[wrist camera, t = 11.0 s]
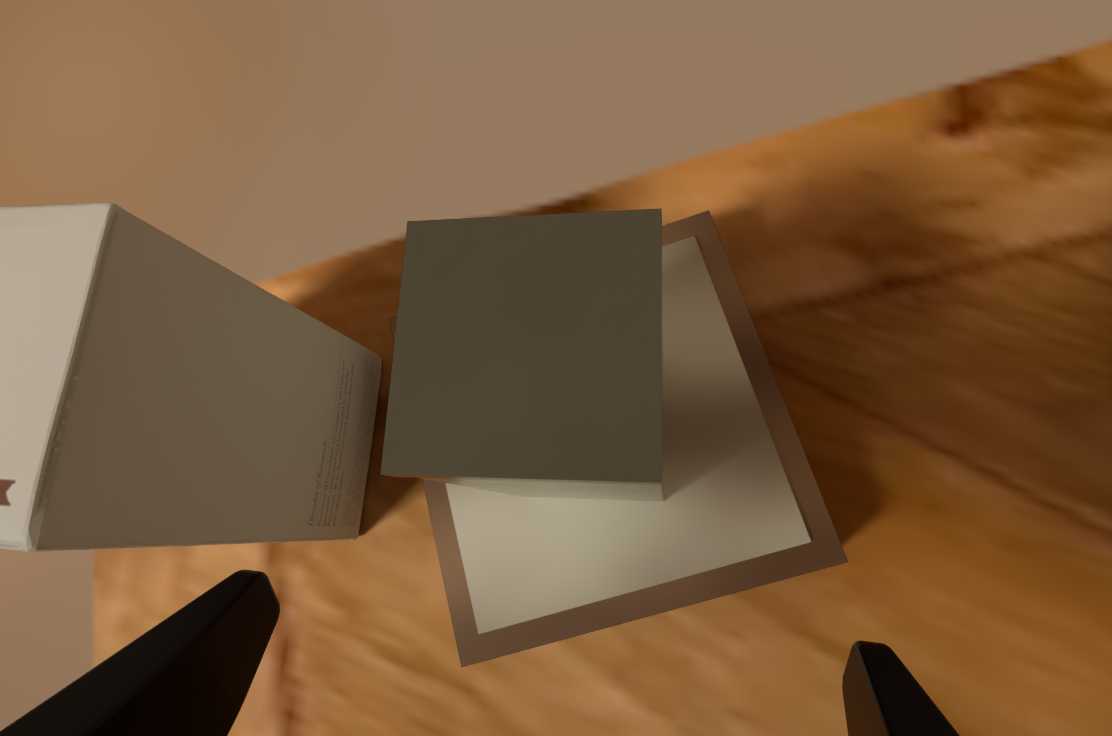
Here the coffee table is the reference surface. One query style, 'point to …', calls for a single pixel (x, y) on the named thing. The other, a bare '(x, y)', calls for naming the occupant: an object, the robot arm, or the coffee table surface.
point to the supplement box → (166, 395)
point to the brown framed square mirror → (649, 526)
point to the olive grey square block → (531, 356)
